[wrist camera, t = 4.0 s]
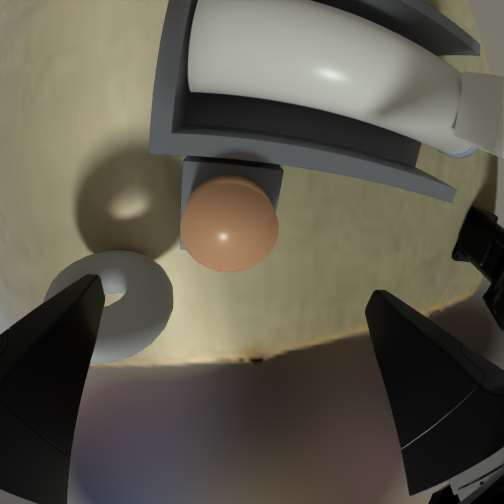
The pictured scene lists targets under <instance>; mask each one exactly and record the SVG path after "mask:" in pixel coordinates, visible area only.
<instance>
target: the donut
mask: <svg viewBox="0 0 504 504" xmlns="http://www.w3.org/2000/svg"><path fill="white" fill-rule="evenodd" d="M86 274H97V275H99V276H100V278H101V281H102V286H103V290H104V294H105V295H107V294H110V293H122V294H124V296H123V297H122V298H121V299H120V300H118V301H116V302H115V303H113V304H111V305H109V306H106V307H104V308H103V312H102V316H101V321H100V326H99V330H98V335H97V340H96V344H95V348H94V351H93V355H92V358H91V362H90V363H112V362H115V361H118V360H122V359H125V358H128V357H131V356H133V355H135V354H137V353H138V352H140V351H141V350H143V349H144V348H146V347H147V346H149V345H150V344H152V343H153V341H154V340H155V339H156V338H157V337H158V336H159V334H160V333H161V332H162V331H163V330H164V329H165V327H166V325H167V322H168V320H169V317H170V315H171V312H172V310H173V287H172V284H171V282H170V280H169V278H168V276H167V274H166V272H165V271H164V269H163V268H162V267H161V266H160V265H159V264H157V263H156V262H155V261H153V260H152V259H151V258H149V257H147V256H145V255H142V254H139V253H136V252H133V251H123V250H113V251H103V252H99V253H96V254H92V255H89V256H86V257H84V258H82V259H80V260H78V261H76V262H74V263H72V264H71V265H69V266H68V267H67V268H65V269H64V270H63V271H61V272H60V273H59V274H58V276H57V277H56V278H55V279H54V280H53V281H52V283H51V285H50V287H49V289H48V291H47V293H46V296H45V298H44V302H45V301H47V300H48V299H50V298H51V297H53V296H54V295H56V294H57V293H59V292H60V291H62V290H63V289H65V288H66V287H68V286H69V285H71V284H72V283H74V282H75V281H77V280H78V279H80V278H82V277H83V276H85V275H86Z"/></svg>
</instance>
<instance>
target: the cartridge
mask: <svg viewBox="0 0 504 504" xmlns="http://www.w3.org/2000/svg"><path fill="white" fill-rule="evenodd" d="M188 83H189V89H190V91H191V92H203V93H217V94H229V95H238V96H247V97H255V98H262V99H268V100H275V101H281V102H286V103H292V104H297V105H302V106H306V107H311V108H315V109H320V110H324V111H328V112H332V113H336V114H340V115H343V116H347V117H350V118H354V119H357V120H361V121H364V122H367V123H370V124H373V125H376V126H379V127H382V128H385V129H388V130H391V131H394V132H396V133H399V134H402V135H404V136H407V137H410V138H412V139H415V140H417V141H419V142H422V143H424V144H427V145H429V146H431V147H433V148H436V149H437V150H439V151H440V152H441V153H443V154H445V155H448V156H450V157H453V158H465V157H468V156H471V155H472V154H474V153H475V152H476V151H478V150H479V149H481V150H484V151H486V152H488V153H491V154H493V155H495V156H498V157H500V158H502V159H504V77H502V76H496V75H489V74H482V73H473V72H463V74H462V73H461V72H459V71H458V70H457V69H455V68H454V67H453V66H451V65H450V64H448V63H447V62H445V61H444V60H442V59H441V58H439V57H438V56H436V55H435V54H433V53H431V52H430V51H428V50H426V49H425V48H423V47H421V46H420V45H418V44H416V43H414V42H413V41H411V40H409V39H407V38H405V37H403V36H401V35H399V34H397V33H395V32H393V31H391V30H389V29H387V28H385V27H383V26H381V25H378V24H376V23H374V22H372V21H369V20H367V19H364V18H362V17H359V16H357V15H354V14H352V13H349V12H346V11H343V10H340V9H337V8H334V7H331V6H328V5H325V4H321V3H318V2H314V1H311V0H198V3H197V6H196V10H195V14H194V18H193V23H192V29H191V35H190V43H189V54H188Z"/></svg>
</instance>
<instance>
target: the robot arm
mask: <svg viewBox="0 0 504 504" xmlns="http://www.w3.org/2000/svg"><path fill="white" fill-rule="evenodd" d="M497 220H498V217H497V216H496V215H494V214H491V213H489V212H486V211H484V210H481V209H479V208H476V207H472V208H471V210H470V213H469V216H468V218H467V221H466V224H465V226H464V229H463V231H462V234H461V236H460V238H459V241H458V243H457V245H456V248H455V250H454V252H453V254H452V259H453V260H455V261H465V262H471V263H472V264H473V265H474V266H475V267H476V268H477V269H478V270H479V271H480V272H481V273H482V274H483V275H484V276H485V277H486V278H487V279H488V280H489V281H490V282H491V285H490V287H489V288H488V290H487V292H486V293H485V294H484V295H483V299H484V301H485V302H486V305H487V307H488V308H489V310H490V312H491V314H492V315H493V317H494V319H495V321H496V322H497V324H498V326H499V327H500V329H501V331H503V332H504V228H503V227H501V226H500V225H499V224H497ZM104 303H105V294H104V290H103V286H102V281H101V278H100V276H99V275H97V274H86V275H85V276H83V277H82V278H80V279H78V280H77V281H75V282H74V283H72V284H71V285H69V286H68V287H66V288H65V289H63V290H62V291H60V292H59V293H57V294H56V295H54V296H53V297H51V298H50V299H48V300H47V301H45V302H44V303H43V304H41V305H40V306H38V307H37V308H36V309H34V310H33V311H31V312H30V313H29V314H27V315H26V316H24V317H23V318H22V319H20V320H19V321H18V322H16V323H15V324H14V325H12V326H11V327H10V328H9V329H7V330H6V331H4V332H3V333H2V334H0V504H67V491H68V478H69V467H70V457H71V450H72V443H73V436H74V431H75V425H76V420H77V415H78V410H79V405H80V401H81V396H82V392H83V388H84V384H85V380H86V376H87V372H88V369H89V365H90V362H91V358H92V355H93V351H94V348H95V344H96V340H97V335H98V330H99V326H100V321H101V316H102V312H103V308H104ZM365 315H366V319H367V323H368V327H369V332H370V336H371V340H372V344H373V349H374V352H375V356H376V359H377V362H378V365H379V368H380V371H381V375H382V378H383V381H384V385H385V388H386V392H387V395H388V399H389V402H390V406H391V409H392V414H393V418H394V422H395V426H396V430H397V434H398V438H399V443H400V447H401V452H402V457H403V462H404V467H405V472H406V478H407V484H408V490H409V495H410V496H413V495H415V494H418V493H420V492H423V491H425V490H428V489H430V488H432V487H435V486H437V485H439V484H441V483H443V482H445V481H448V480H449V484H447V485H446V486H444V487H443V488H441V489H440V490H438V491H436V492H435V493H433V494H432V497H431V499H430V501H429V504H504V370H502V369H501V368H499V367H498V366H496V365H495V364H493V363H491V362H490V361H488V360H487V359H485V358H484V357H482V356H481V355H479V354H478V353H476V352H475V351H473V350H472V349H470V348H469V347H468V346H466V345H465V344H464V343H462V342H461V341H459V340H458V339H456V338H455V337H453V336H452V335H451V334H449V333H448V332H447V331H445V330H444V329H442V328H441V327H439V326H438V325H437V324H435V323H434V322H432V321H431V320H429V319H428V318H427V317H425V316H424V315H422V314H421V313H419V312H418V311H416V310H415V309H413V308H412V307H410V306H409V305H407V304H406V303H404V302H403V301H401V300H400V299H398V298H397V297H395V296H394V295H392V294H391V293H389V292H388V291H386V290H375V291H374V292H373V293H372V295H371V298H370V300H369V302H368V304H367V306H366V309H365Z"/></svg>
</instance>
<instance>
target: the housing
mask: <svg viewBox="0 0 504 504" xmlns="http://www.w3.org/2000/svg"><path fill="white" fill-rule="evenodd" d="M311 1H314V2H318V3H321V4H325V5H328V6H331V7H334V8H337V9H340V10H343V11H346V12H349V13H352V14H354V15H357V16H359V17H362V18H364V19H367V20H369V21H372V22H374V23H376V24H378V25H381V26H383V27H385V28H387V29H389V30H391V31H393V32H395V33H397V34H399V35H401V36H403V37H405V38H407V39H409V40H411V41H413V42H414V43H416V44H418V45H420V46H421V47H423V48H425V49H426V50H428V51H430V52H431V53H433V54H435V55H473V56H480V44H479V43H478V42H477V41H476V40H475V39H473V38H472V37H471V36H470V35H469V34H468V33H466V32H465V31H464V30H463V29H461V28H460V27H459V26H458V25H456V24H455V23H454V22H452V21H451V20H450V19H448V18H447V17H446V16H444V15H443V14H441V13H440V12H438V11H437V10H436V9H434V8H433V7H431V6H430V5H428V4H426V3H425V2H423V1H422V0H311ZM197 3H198V0H169V3H168V7H167V11H166V16H165V21H164V25H163V30H162V36H161V41H160V47H159V53H158V60H157V67H156V74H155V82H154V91H153V100H152V111H151V125H150V141H149V154H162V155H186V158H185V159H184V161H183V172H182V191H181V220H182V216H183V213H184V210H185V207H186V204H187V201H188V199H189V197H190V196H191V194H192V193H193V191H194V190H195V189H196V188H197V187H198V186H199V185H200V184H202V183H203V182H205V181H207V180H209V179H211V178H213V177H217V176H221V175H237V176H242V177H245V178H248V179H250V180H252V181H254V182H255V183H257V184H258V185H259V186H260V187H261V188H262V189H263V190H264V191H265V192H266V194H267V195H268V197H269V199H270V201H271V204H272V206H273V208H274V210H275V213H276V209H277V204H278V199H279V193H280V188H281V183H282V177H283V172H284V171H283V169H282V168H281V167H280V166H279V165H278V164H280V165H287V166H294V167H300V168H306V169H313V170H318V171H324V172H329V173H335V174H340V175H345V176H350V177H355V178H359V179H364V180H368V181H373V182H377V183H381V184H386V185H390V186H394V187H398V188H401V189H405V190H409V191H413V192H416V193H420V194H423V195H427V196H430V197H434V198H437V199H440V200H443V201H447V202H450V203H452V202H453V199H454V196H455V193H456V190H457V189H455V188H453V187H451V186H450V185H448V184H446V183H444V182H443V181H441V180H439V179H437V178H435V177H433V176H431V175H430V174H428V173H426V172H424V171H422V170H420V169H418V168H416V167H415V165H416V162H417V158H418V154H419V150H420V146H421V142H419V141H417V140H415V139H412V138H410V137H407V136H404V135H402V134H399V133H396V132H394V131H391V130H388V129H385V128H382V127H379V126H376V125H373V124H370V123H367V122H364V121H361V120H357V119H354V118H350V117H347V116H343V115H340V114H336V113H332V112H328V111H324V110H320V109H315V108H311V107H306V106H302V105H297V104H292V103H286V102H281V101H275V100H268V99H262V98H255V97H247V96H238V95H229V94H217V93H203V92H191V91H190V89H189V83H188V54H189V43H190V35H191V29H192V23H193V18H194V14H195V10H196V6H197ZM180 226H181V221H180ZM180 249H183V250H186V248H185V246H184V244H183V241H182V238H181V231H180Z"/></svg>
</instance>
